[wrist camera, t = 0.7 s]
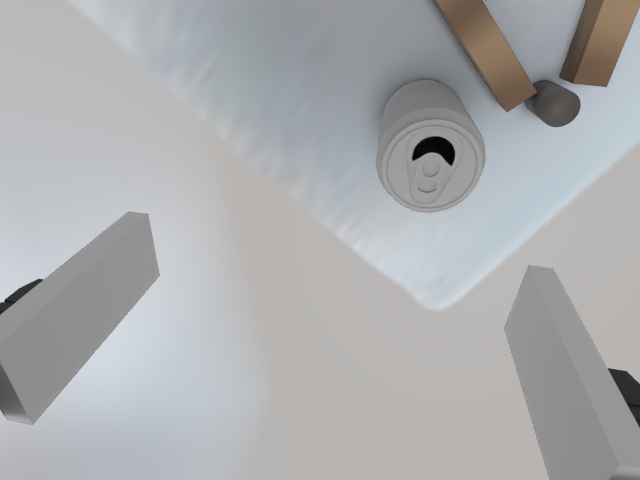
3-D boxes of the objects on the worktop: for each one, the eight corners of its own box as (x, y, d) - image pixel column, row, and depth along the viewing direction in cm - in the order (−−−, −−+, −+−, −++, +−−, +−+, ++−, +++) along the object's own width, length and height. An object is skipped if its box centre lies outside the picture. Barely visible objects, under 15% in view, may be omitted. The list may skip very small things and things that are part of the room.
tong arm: (376, -90, 28) (374, -98, 25) (403, -118, 27) (404, -130, 24) (499, 104, 32) (507, 112, 30) (526, 85, 31) (537, 92, 29)
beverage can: (471, 82, 32) (505, 119, 22) (450, 161, 35) (472, 226, 25) (389, 73, 33) (384, 105, 22) (376, 151, 36) (367, 210, 26)
